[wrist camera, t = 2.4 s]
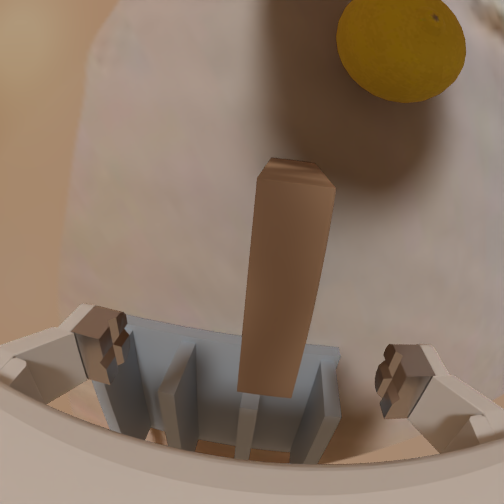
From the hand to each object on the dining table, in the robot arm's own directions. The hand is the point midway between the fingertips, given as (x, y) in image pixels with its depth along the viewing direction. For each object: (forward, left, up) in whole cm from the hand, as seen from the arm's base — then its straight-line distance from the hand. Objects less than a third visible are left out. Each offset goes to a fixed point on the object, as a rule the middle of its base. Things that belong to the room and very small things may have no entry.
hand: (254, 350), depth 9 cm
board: (-1, 0, -10) cm, 10 cm away
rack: (+2, +14, -10) cm, 17 cm away
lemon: (-5, -11, -10) cm, 16 cm away
